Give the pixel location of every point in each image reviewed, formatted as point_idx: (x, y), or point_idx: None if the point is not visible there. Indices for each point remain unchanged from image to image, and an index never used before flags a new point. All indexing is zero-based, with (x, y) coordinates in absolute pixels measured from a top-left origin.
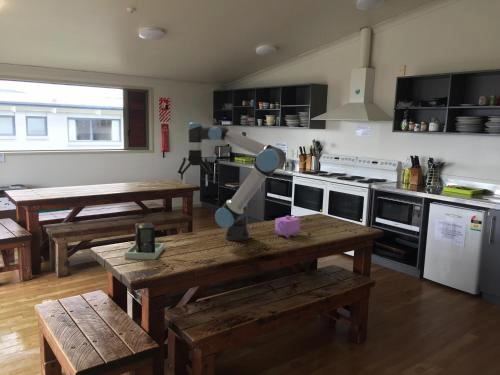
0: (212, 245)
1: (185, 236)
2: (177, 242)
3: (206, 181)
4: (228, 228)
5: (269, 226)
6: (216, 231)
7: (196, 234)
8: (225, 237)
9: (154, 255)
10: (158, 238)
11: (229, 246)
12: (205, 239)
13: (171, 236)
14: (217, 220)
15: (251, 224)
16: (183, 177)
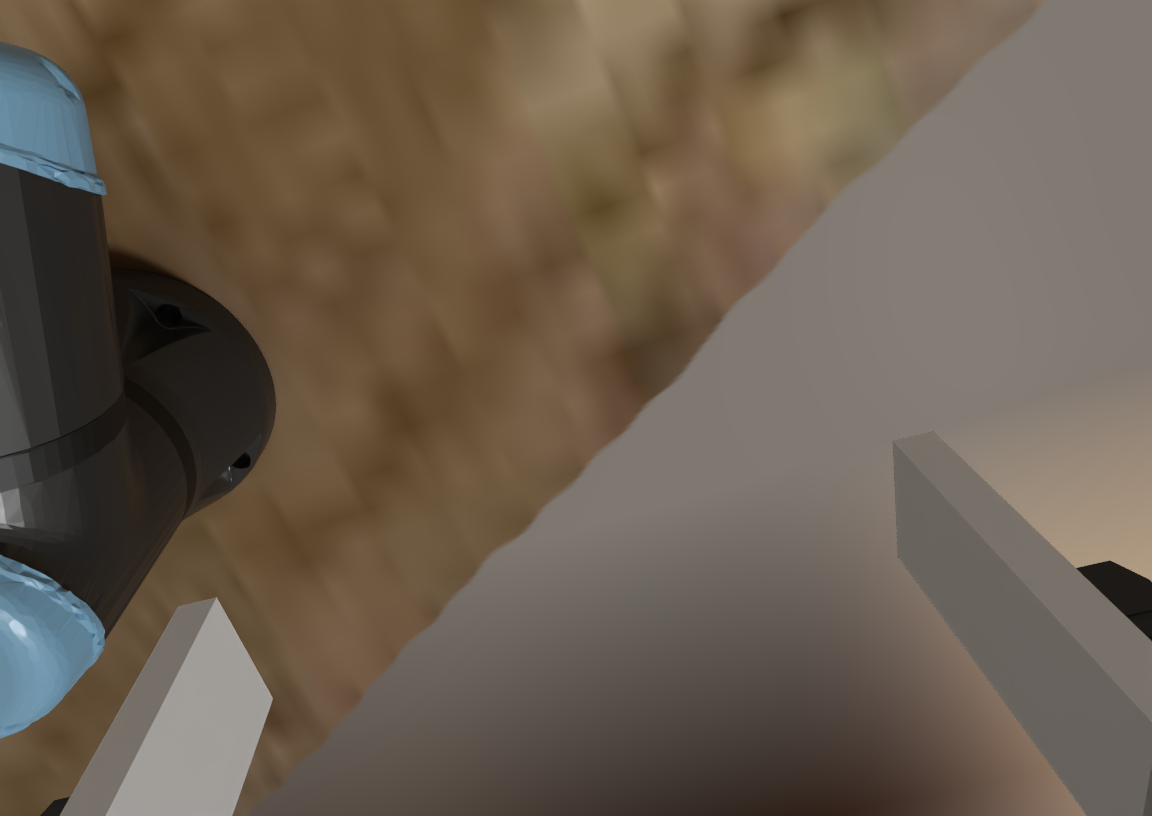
0: (238, 30)
1: (663, 259)
2: (661, 9)
3: (133, 715)
4: (163, 364)
5: None
6: (445, 511)
7: (585, 361)
8: (240, 329)
9: None
10: (914, 90)
11: None
12: (421, 227)
13: (803, 210)
14: (13, 45)
15: (259, 781)
16: (1082, 611)
